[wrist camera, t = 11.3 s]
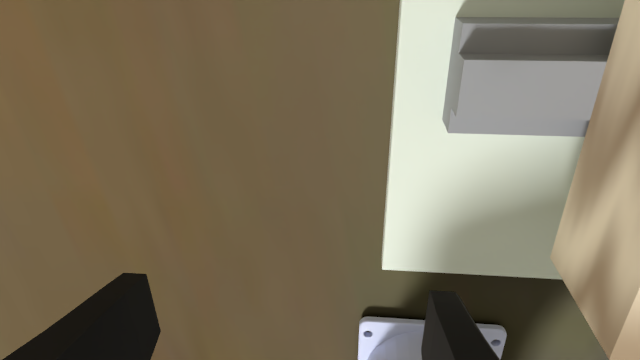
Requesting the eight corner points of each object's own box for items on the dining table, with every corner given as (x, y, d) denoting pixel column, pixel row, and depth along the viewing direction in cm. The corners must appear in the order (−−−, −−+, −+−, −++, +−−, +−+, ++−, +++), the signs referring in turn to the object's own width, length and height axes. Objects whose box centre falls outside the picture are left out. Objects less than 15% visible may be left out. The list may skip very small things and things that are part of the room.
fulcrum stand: (711, 274, 22) (767, 329, 18) (381, 257, 23) (383, 305, 20) (1005, -292, 12) (1221, -372, 9) (418, -262, 14) (433, -322, 11)
